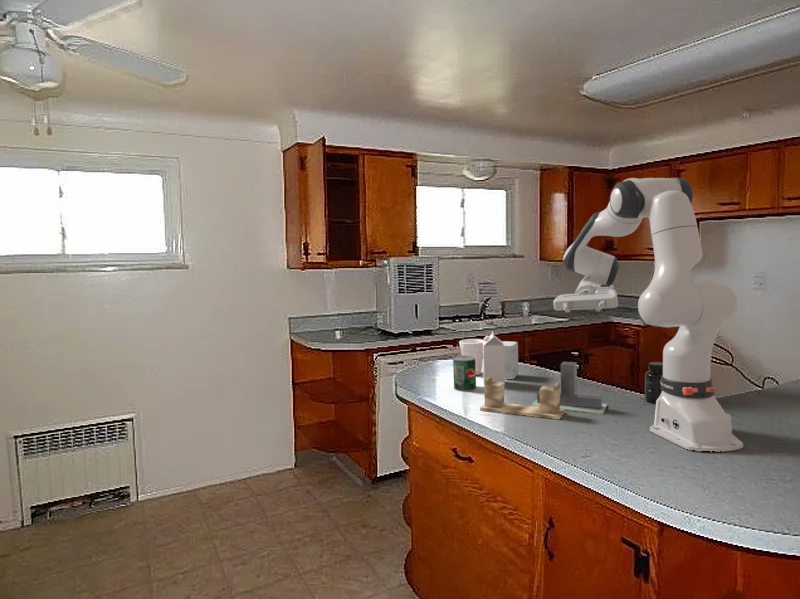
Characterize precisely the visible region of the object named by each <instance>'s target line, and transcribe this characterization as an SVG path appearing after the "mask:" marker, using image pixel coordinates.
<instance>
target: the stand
mask: <svg viewBox="0 0 800 599" xmlns="http://www.w3.org/2000/svg"><path fill="white" fill-rule="evenodd" d="M483 384H484V390H483V391H484V404H483V405H482V406H480V408H479V411H480V412H489V413H496V412H501V413H500V414H505V413H510V414H509V415H513V414H517V415H516V416H522V415H526V416H525V417H531V416H534V418H540V417H545V418H544V419H548V418H552V419H551V420H557V419H559V420H558V421H560V420H561V419H560V418H562V417H563V416H564V414H565V413H566V410H565V409H560V393H561V381H560V382H559V381H558V382H555V383H554V384H553V386H546V385H542V386H541V387H540V388H539V391H540V407H538V406H531V405H527V404H518V403H507V402H505V386H504V382H492V377H487V378H486V379H484V378H483ZM564 412H565V413H564ZM562 415H563V416H562Z"/></svg>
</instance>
